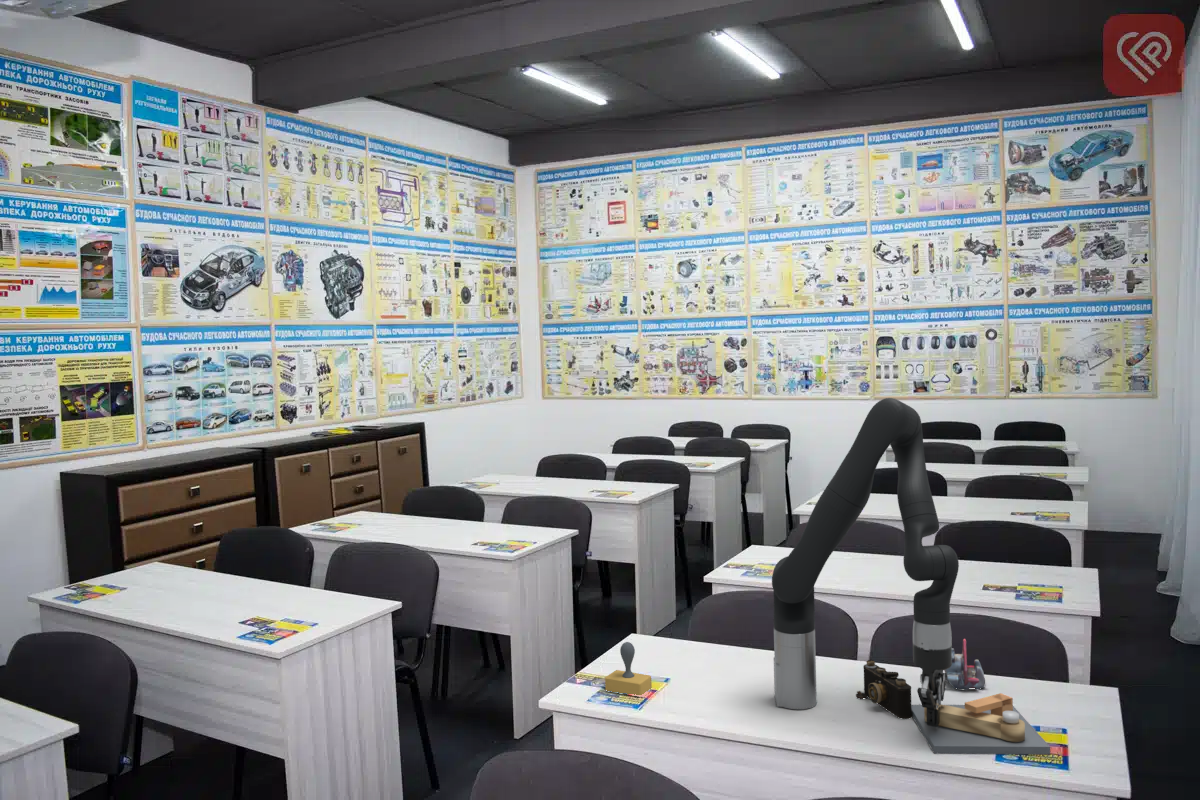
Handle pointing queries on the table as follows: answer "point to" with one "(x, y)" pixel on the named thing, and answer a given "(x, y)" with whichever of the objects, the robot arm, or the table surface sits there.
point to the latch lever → (980, 723)
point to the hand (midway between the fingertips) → (933, 725)
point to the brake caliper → (964, 671)
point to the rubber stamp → (628, 675)
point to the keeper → (991, 704)
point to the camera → (886, 690)
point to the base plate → (979, 737)
